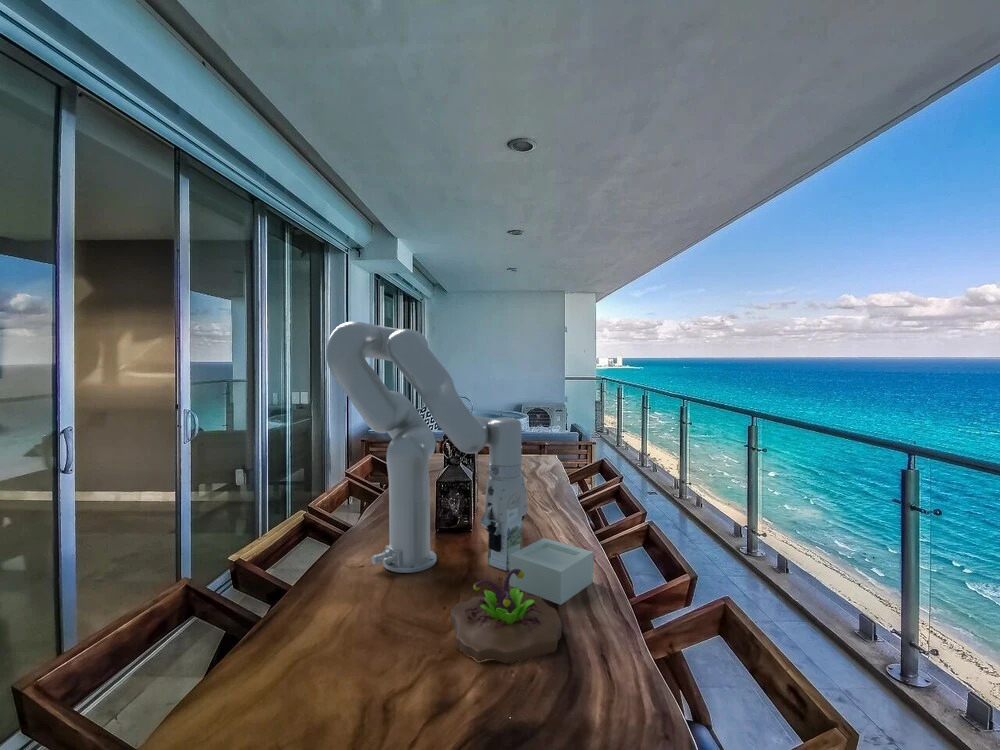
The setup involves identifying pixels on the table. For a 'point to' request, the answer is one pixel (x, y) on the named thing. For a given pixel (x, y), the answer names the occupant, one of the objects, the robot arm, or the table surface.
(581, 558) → the sage block
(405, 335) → the robot arm
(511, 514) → the syrup box
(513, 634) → the plant
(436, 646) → the table surface
